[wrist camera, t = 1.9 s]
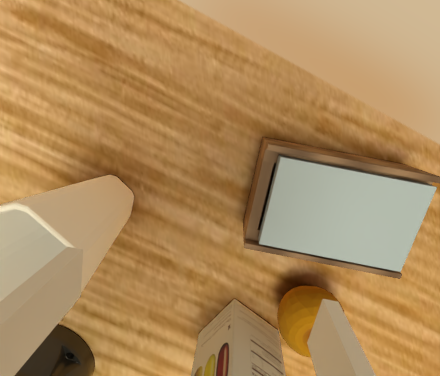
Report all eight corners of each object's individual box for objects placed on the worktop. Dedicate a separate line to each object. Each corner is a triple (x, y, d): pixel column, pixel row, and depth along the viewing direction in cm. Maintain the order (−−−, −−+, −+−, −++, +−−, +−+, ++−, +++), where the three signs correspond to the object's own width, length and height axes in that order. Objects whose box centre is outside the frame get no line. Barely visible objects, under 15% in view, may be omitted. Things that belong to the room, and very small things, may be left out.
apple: (316, 260, 39) (338, 302, 31) (342, 304, 41) (368, 356, 33) (263, 284, 41) (269, 331, 33) (289, 326, 43) (302, 380, 34)
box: (243, 222, 39) (244, 248, 32) (262, 136, 35) (268, 144, 28) (371, 247, 38) (400, 278, 31) (403, 163, 35) (443, 178, 28)
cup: (57, 195, 39) (-73, 258, 23) (101, 145, 37) (-9, 176, 20) (116, 248, 41) (35, 341, 25) (162, 204, 39) (106, 275, 22)
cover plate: (258, 237, 33) (259, 244, 31) (278, 154, 30) (280, 157, 28) (393, 264, 32) (400, 272, 31) (427, 183, 29) (437, 187, 28)
